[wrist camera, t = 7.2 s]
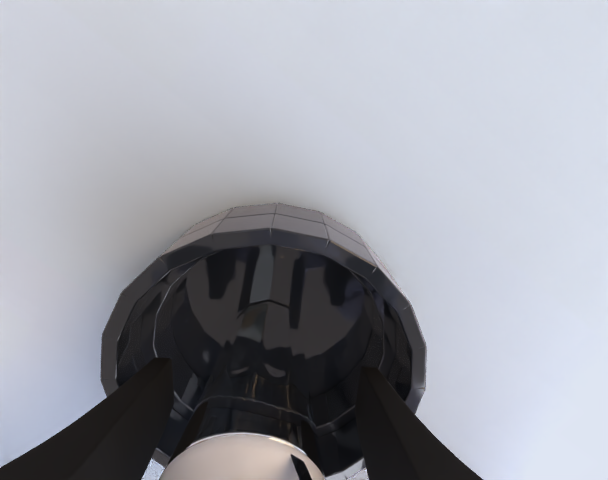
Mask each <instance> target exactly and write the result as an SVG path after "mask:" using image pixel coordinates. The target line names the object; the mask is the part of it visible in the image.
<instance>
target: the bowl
mask: <svg viewBox="0 0 608 480" xmlns="http://www.w3.org/2000/svg"><path fill="white" fill-rule="evenodd" d="M268 301H270V302H273V303H275V304H278V305H281V306H284V307H287V308H289V310H290V311H291V312H292V314H293V315H294V317H295V318H296V319H297V321H298V322H299V324H300V329H301V335H302V342H303V349H304V355H305V362H306V368H307V375H308V382H309V388H310V395H311V402H312V408H313V413H314V419H315V424H316V429H317V435H318V440H319V445H320V451H321V456H322V461H323V466H324V472H325V477H326V480H347V478H350V477H352V476H353V475H355V474H356V473H358V472H359V471H361V470H363V469H364V468H366V464H365V461H364V457H363V453H362V449H361V445H360V440H359V436H358V429H357V422H356V415H355V404H356V398H357V391H358V385H359V379H360V373H361V367H375V368H378V369H379V371H380V372H381V373H382V374H383V376H384V377H385V378H386V380H387V381H388V382H389V384H390V385H391V386H392V387H393V389H394V390H395V391H396V392H397V394H398V395H399V396H400V397H401V399H402V400H403V401H404V402H405V404H406V405H407V406H408V407H409V408H410V409H411V411H412V412H413V413H414V414H415V413H416V410H417V408H418V406H419V403H420V401H421V398H422V396H423V394H424V391H425V387H426V351H427V347H426V342H425V340H424V337H423V334H422V332H421V329H420V326H419V324H418V321H417V318H416V316H415V313H414V310H413V307H412V305H411V303H410V302H409V300H408V299H407V297H406V296H405V294H404V293H403V291H402V290H401V288H400V287H399V285H398V284H397V283H396V281H395V280H394V279H393V277H392V275H391V274H390V273H389V271H388V270H387V268H386V267H385V265H384V264H383V262H382V261H381V260H380V259H379V257H378V256H377V255H376V254H375V253H374V252H373V251H372V249H371V248H370V247H369V246H368V245H367V244H366V243H365V241H364V240H363V239H362V238H361V237H360V236H359V235H358V234H357V233H356V232H355V231H353V230H351V229H350V228H348V227H346V226H344V225H343V224H341V223H339V222H337V221H336V220H334V219H332V218H330V217H329V216H327V215H325V214H324V213H322V212H319V211H314V210H310V209H305V208H300V207H295V206H291V205H286V204H281V203H278V204H276V203H272V204H262V205H252V206H242V207H235V208H231V209H229V210H226V211H224V212H222V213H220V214H217V215H215V216H213V217H211V218H208V219H206V220H204V221H202V222H199V223H197V224H195V225H194V226H192V227H191V228H190V229H189V230H188V231H187V232H186V233H185V234H183V235H182V236H181V237H180V238H179V239H178V240H177V241H176V242H175V243H173V244H172V245H171V246H170V247H169V248H168V249H167V250H166V251H165V252H163V253H162V254H161V255H160V256H159V257H158V258H157V259H156V260H155V261H154V262H153V263H152V264H150V265H149V266H148V267H147V268H146V269H145V270H144V271H143V272H142V273H141V274H140V275H139V276H138V277H137V278H136V279H135V280H134V281H133V282H131V283H130V284H129V285H128V286H127V287H126V288H125V289H124V290H123V291H122V293H121V294H120V296H119V298H118V301H117V303H116V305H115V307H114V309H113V311H112V314H111V316H110V318H109V320H108V322H107V324H106V327H105V329H104V331H103V333H102V347H101V382H102V385H103V388H104V391H105V393H106V396H107V397H108V396H109V395H111V394H112V393H113V392H114V391H115V390H117V389H118V388H119V387H120V386H122V385H123V384H124V383H125V382H126V381H128V380H129V379H130V378H131V377H132V376H133V375H135V374H136V373H137V372H138V371H139V370H141V369H142V368H143V367H144V366H145V365H146V364H148V363H149V362H150V361H151V360H153V359H154V358H155V357H160V358H172V371H173V388H174V404H173V407H172V410H171V413H170V416H169V419H168V422H167V425H166V427H165V430H164V432H163V434H162V437H161V439H160V441H159V443H158V445H157V447H156V449H155V452H154V454H153V456H152V459H153V460H155V461H156V462H158V463H159V464H161V465H162V466H164V467H166V465H167V463H168V461H169V459H170V457H171V455H172V453H173V451H174V449H175V447H176V445H177V443H178V441H179V439H180V437H181V435H182V433H183V431H184V429H185V427H186V425H187V423H188V421H189V419H190V417H191V415H192V413H193V411H194V409H195V407H196V405H197V403H198V401H199V399H200V397H201V395H202V393H203V390H204V388H205V386H206V384H207V381H208V379H209V377H210V375H211V373H212V370H213V368H214V366H215V364H216V362H217V360H218V357H219V355H220V353H221V351H222V349H223V347H224V344H225V342H226V340H227V338H228V336H229V333H230V331H231V329H232V327H233V325H234V323H235V321H236V319H237V318H238V317H239V316H240V315H241V314H242V313H243V312H244V311H245V309H246V308H247V307H248V306H250V305H255V304H259V303H263V302H268Z"/></svg>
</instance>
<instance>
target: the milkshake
mask: <svg viewBox="0 0 608 480" xmlns="http://www.w3.org/2000/svg"><path fill="white" fill-rule="evenodd" d="M159 480H326V477H325V472H324V466H323V461H322V456H321V451H320V445H319V440H318V435H317V429H316V424H315V419H314V413H313V408H312V402H311V395H310V388H309V382H308V375H307V368H306V362H305V355H304V349H303V342H302V335H301V329H300V324H299V322H298V321H297V319H296V318H295V317H294V315H293V314H292V312H291V311H290V310H289V308H287V307H284V306H281V305H278V304H275V303H273V302H270V301H268V302H263V303H259V304H255V305H250V306H248V307H247V308H246V309H245V311H244V312H243V313H242V314H241V315H240V316H239V317H238V318H237V319H236V321H235V323H234V325H233V327H232V329H231V331H230V333H229V336H228V338H227V340H226V342H225V344H224V347H223V349H222V351H221V353H220V355H219V357H218V360H217V362H216V364H215V366H214V368H213V370H212V373H211V375H210V377H209V379H208V381H207V384H206V386H205V388H204V390H203V393H202V395H201V397H200V399H199V401H198V403H197V405H196V407H195V409H194V411H193V413H192V415H191V417H190V419H189V421H188V423H187V425H186V427H185V429H184V431H183V433H182V435H181V437H180V439H179V441H178V443H177V445H176V447H175V449H174V451H173V453H172V455H171V457H170V459H169V461H168V463H167V465H166V467H165V469H164V471H163V473H162V475H161V476H160V478H159Z"/></svg>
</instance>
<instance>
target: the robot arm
mask: <svg viewBox="0 0 608 480" xmlns="http://www.w3.org/2000/svg"><path fill="white" fill-rule="evenodd" d="M173 404H174V388H173V371H172V358H160V357H155V358H154V359H153V360H151V361H150V362H149V363H148V364H146V365H145V366H144V367H143V368H142V369H141V370H139V371H138V372H137V373H136V374H135V375H133V376H132V377H131V378H130V379H129V380H128V381H126V382H125V383H124V384H123V385H122V386H120V387H119V388H118V389H117V390H115V391H114V392H113V393H112V394H111V395H109V396H108V397H107V398H106V399H104V400H103V401H102V402H100V403H99V404H98V405H96V406H95V407H94V408H92V409H91V410H90V411H88V412H87V413H86V414H85V415H83V416H82V417H81V418H79V419H78V420H76V421H75V422H74V423H72V424H71V425H69V426H68V427H66V428H65V429H63V430H62V431H60V432H59V433H57V434H56V435H54V436H53V437H51V438H50V439H48V440H47V441H45V442H43V443H42V444H40V445H39V446H37V447H35V448H33V449H32V450H30V451H28V452H27V453H25V454H23V455H22V456H20V457H18V458H16V459H15V460H13V461H11V462H10V463H8V464H6V465H4V466H3V467H1V468H0V480H141V479H142V477H143V475H144V472H145V470H146V468H147V466H148V464H149V462H150V460H151V458H152V456H153V454H154V452H155V449H156V447H157V445H158V443H159V441H160V439H161V437H162V434H163V432H164V430H165V427H166V425H167V422H168V419H169V416H170V413H171V410H172V407H173ZM355 415H356V422H357V429H358V436H359V440H360V445H361V449H362V453H363V457H364V461H365V464H366V468H367V472H368V476H369V480H483V479H482V478H480V477H479V476H478V475H477V474H476V473H474V472H473V471H472V470H471V469H470V468H468V467H467V466H466V465H465V464H464V463H463V462H461V461H460V460H459V459H458V458H457V457H456V456H455V455H454V454H453V453H452V452H451V451H450V450H448V449H447V448H446V447H445V446H444V445H443V444H442V443H441V442H440V441H439V440H438V439H437V438H436V437H435V436H434V435H433V434H432V433H431V432H430V431H429V430H428V429H427V428H426V426H425V425H424V424H423V423H422V422H421V421H420V420H419V419H418V418H417V417H416V415H415V414H414V413H413V412H412V411H411V409H410V408H409V407H408V406H407V405H406V404H405V402H404V401H403V400H402V399H401V397H400V396H399V395H398V394H397V392H396V391H395V390H394V389H393V387H392V386H391V385H390V384H389V382H388V381H387V380H386V378H385V377H384V376H383V374H382V373H381V372H380V371H379V369H378V368H375V367H361V373H360V379H359V385H358V391H357V398H356V404H355Z"/></svg>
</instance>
